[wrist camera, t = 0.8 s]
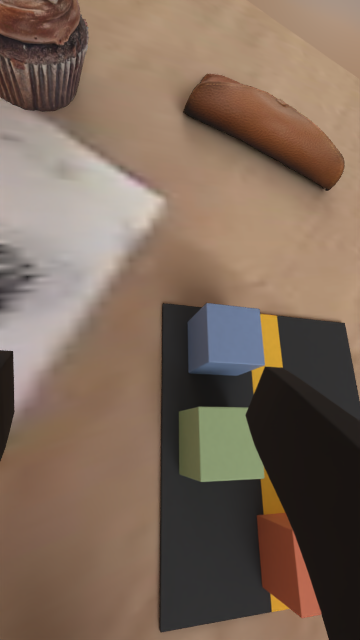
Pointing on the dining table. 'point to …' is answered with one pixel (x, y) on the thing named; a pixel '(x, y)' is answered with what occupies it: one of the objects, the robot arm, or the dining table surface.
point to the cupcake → (41, 52)
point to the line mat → (235, 495)
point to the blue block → (225, 340)
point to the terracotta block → (285, 565)
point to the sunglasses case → (267, 127)
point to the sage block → (217, 445)
